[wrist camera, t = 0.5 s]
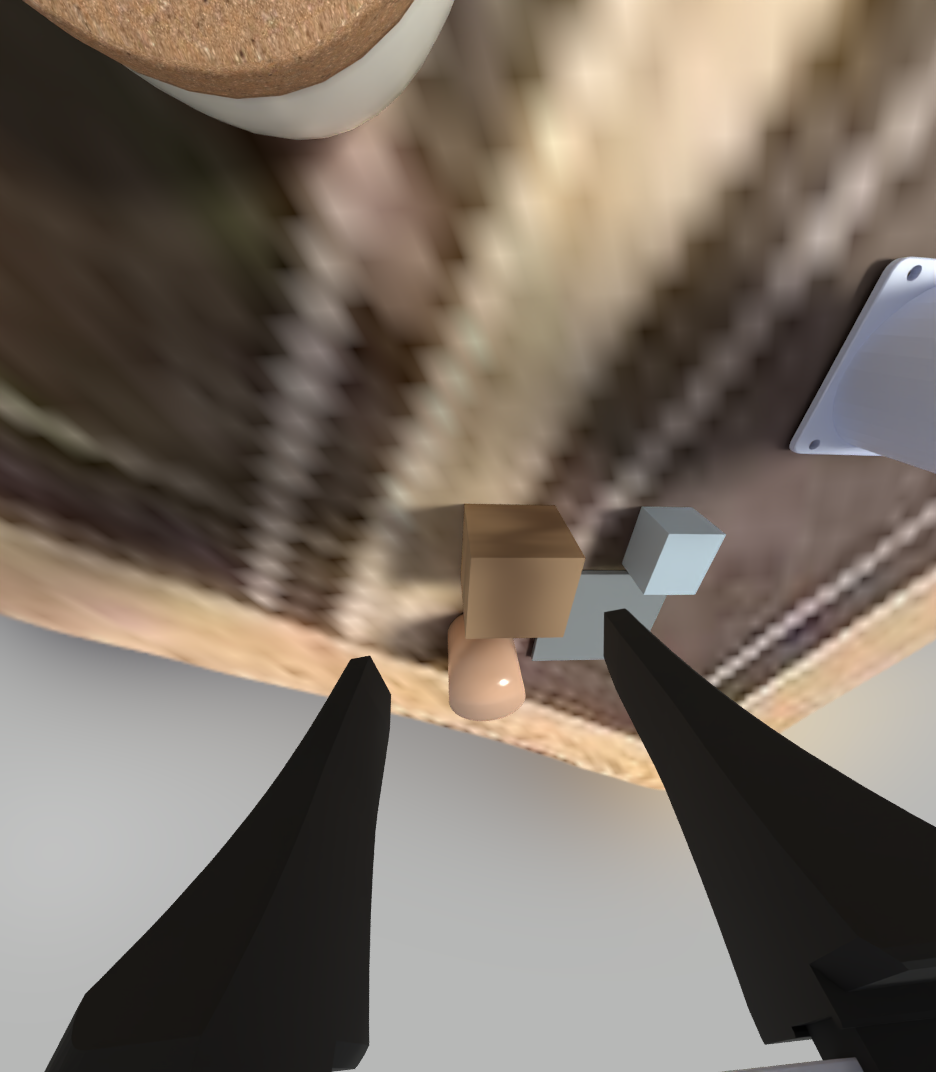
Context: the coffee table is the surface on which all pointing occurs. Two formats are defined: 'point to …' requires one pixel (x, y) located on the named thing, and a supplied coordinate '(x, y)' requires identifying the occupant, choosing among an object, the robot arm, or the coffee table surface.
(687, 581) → the blue plastic box
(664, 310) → the coffee table surface
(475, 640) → the tan rounded cylinder
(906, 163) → the coffee table surface
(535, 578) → the walnut block
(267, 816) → the robot arm
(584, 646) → the slate coaster
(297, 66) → the lidded jar
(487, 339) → the coffee table surface
